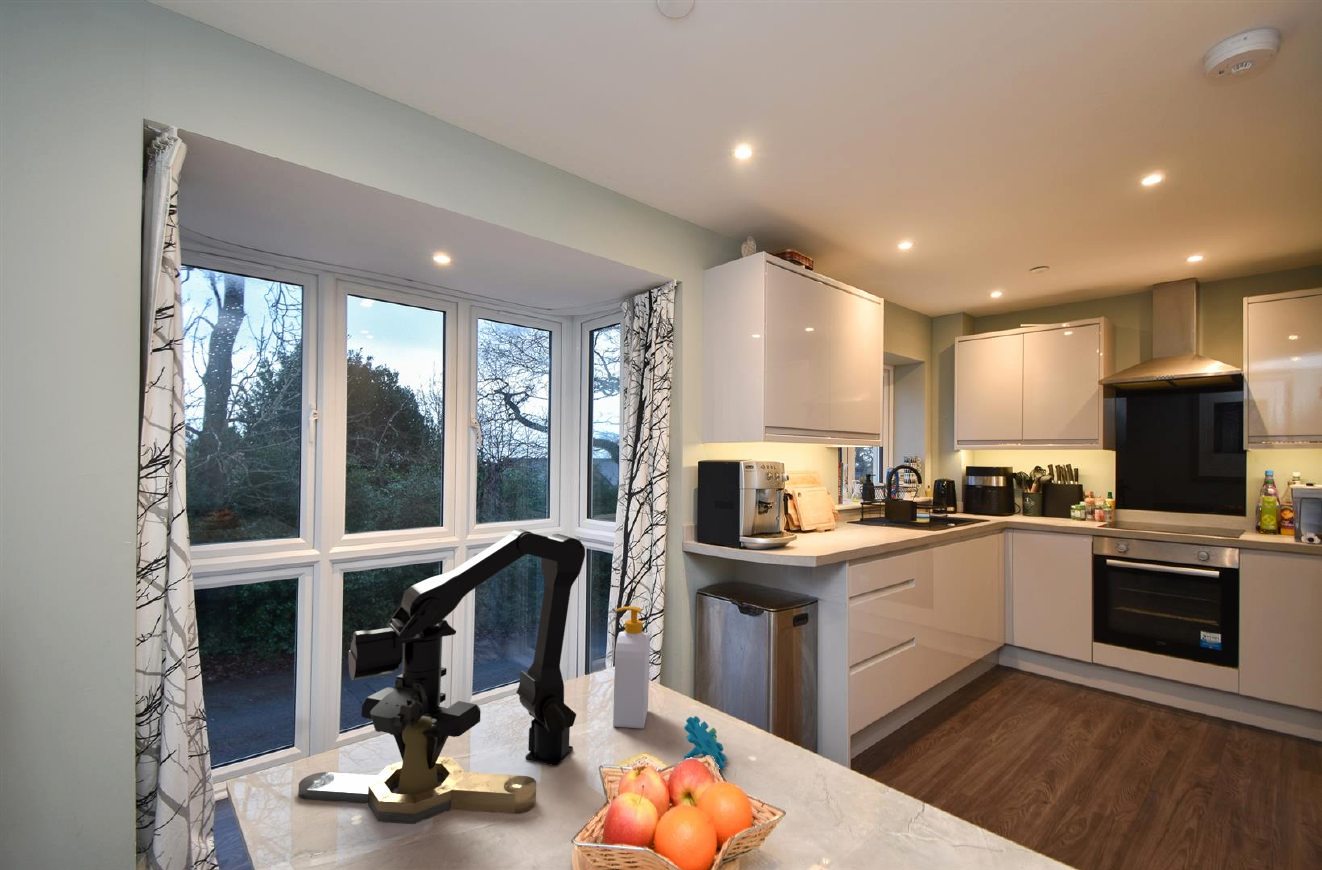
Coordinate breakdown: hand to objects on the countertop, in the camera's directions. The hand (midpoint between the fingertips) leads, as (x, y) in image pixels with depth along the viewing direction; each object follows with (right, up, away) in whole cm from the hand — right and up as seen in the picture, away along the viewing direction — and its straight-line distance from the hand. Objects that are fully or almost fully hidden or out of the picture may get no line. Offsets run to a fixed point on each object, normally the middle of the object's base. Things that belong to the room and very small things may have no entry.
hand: (418, 765), depth 93 cm
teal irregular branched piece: (+46, -7, +13) cm, 49 cm away
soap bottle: (+32, -7, +29) cm, 44 cm away
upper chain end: (+6, -5, -1) cm, 8 cm away
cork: (0, -4, 0) cm, 4 cm away
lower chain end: (-6, -5, 0) cm, 8 cm away
